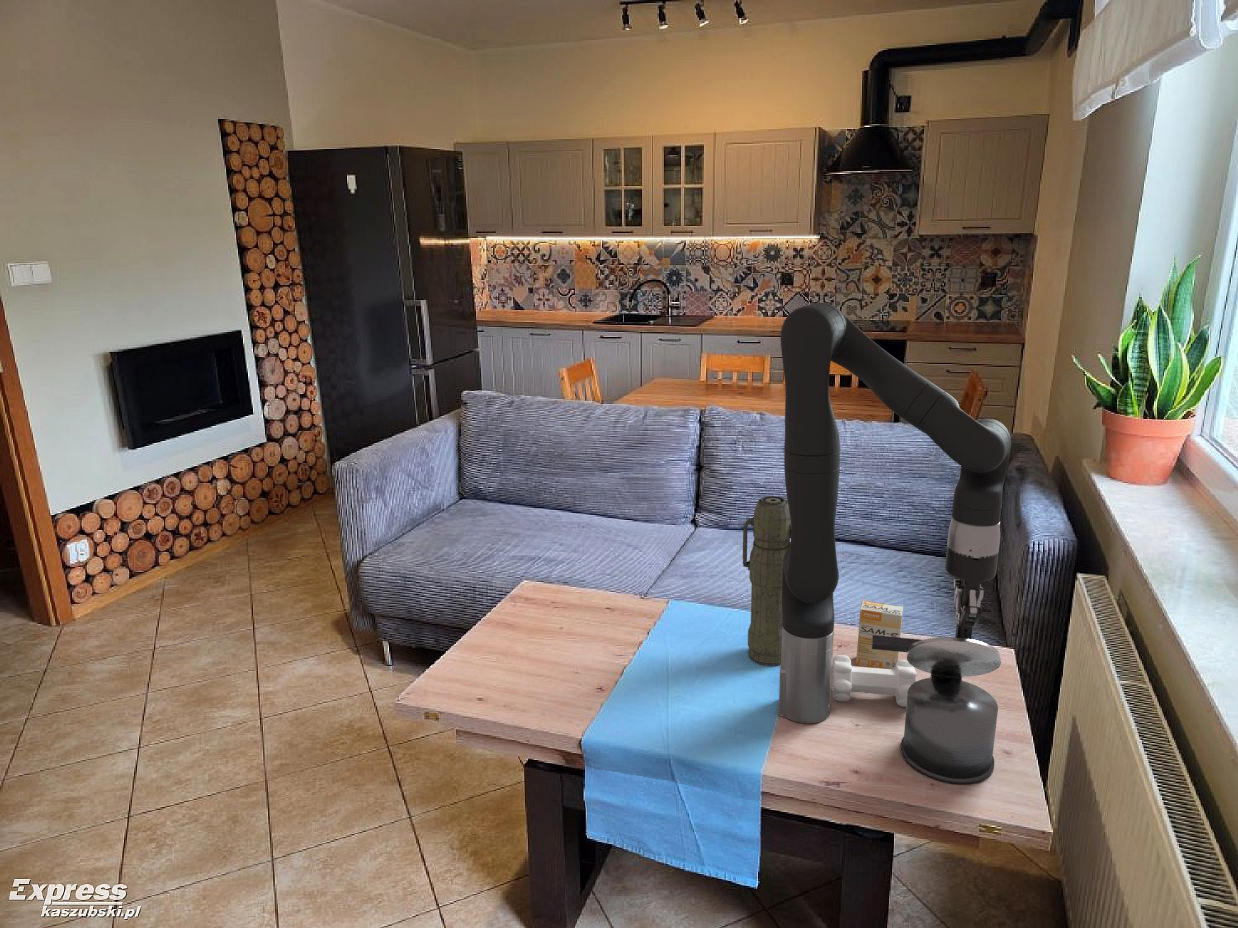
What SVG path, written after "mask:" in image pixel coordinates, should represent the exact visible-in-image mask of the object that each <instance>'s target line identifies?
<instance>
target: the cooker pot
mask: <svg viewBox="0 0 1238 928" xmlns="http://www.w3.org/2000/svg"><path fill="white" fill-rule="evenodd" d="M929 675H930V677H927V678H926V677H925V678H922V679H919V680H916V682H914V683H913V684H912V685H911V686H910V687H909V689H908V694H907V706H906V707H905V708H906V709H905V720H904V733H903V737H902V739H901V742H900V754H901V756H902V758H903V760H904V761H905V763H906V764H907V765H908V766H910V767H911V768H912V769H913V770H914V771H916V772H917V773H919V774H921V775H922V776H924V777H926V778H929V779H930V780H931V779H932V780H934V781H937V782H940V783H944V784H950V785H959V786H960V785H961V786H965V785H966V786H967V785H975V784H978V783H982V782H984V781H985V780H987V779H989V777H991V775H992V774H993V772H994V770H995V758H994V748H995V745H994V744H995V738H996V729H997V722H998V711H999V706H998V705H999V704H998V703H997V701H996V699H995V698H994V696H992V695H991V694H990V693H989V692H987V690H985V689H984V688H981V687H980V686H978V685H976V684H973V683H971V682H968V681H964V680H963V679H962V678H963V677H962V678H960V677H950V676H941V675H931V674H929Z"/></svg>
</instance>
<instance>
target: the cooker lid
mask: <svg viewBox="0 0 1238 928" xmlns="http://www.w3.org/2000/svg"><path fill="white" fill-rule="evenodd" d="M872 649H877V650H887V651H897V652H899V653H906V660H907V661H908V662H909V663H910V664H911V665H912V666H913V667H914V669H917V670H920V671H922V672H925V673H929V674H930V675H941V676H950V677H960V678H963V677H964V678H965V677H977V676H982V675H986V674H990V673H992V672H994V671H996V670H998V669H999V668H1000V667H1001V665H1002V658H1001V653H1000V651H999V650H998V648H996V647H994V646H992V645H991V644H988V643H986V642H983V641H980V640H976V639H972V638H971V639H966V638H955V636H954V637H950V636H947V637H946V636H944V637H943V636H942V637H932V638H931V637H930V638H926V639H925V638H924V639H918V638H910V637H909V638H908V637H901V638H899V637H888V636H878V635H873V636H872Z"/></svg>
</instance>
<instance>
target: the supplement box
mask: <svg viewBox="0 0 1238 928" xmlns="http://www.w3.org/2000/svg"><path fill="white" fill-rule="evenodd" d="M860 604H861V605H860V610H859V619H858V620H859V621H858V623H859V624H858V634H857V636H858V637H857V645H856V646H857V647H856V651H857V652H856V660H855V661H856V662H855V667H868V668H880V669H892V670H895V668H896V663H897V662H898V661H899V657H900V652H897V651H887V650H877V649H872V636H873V635H878V636H888V637H899V638H902V627H903V625H902V623H903V615H904V614H903V613H904V606H901V605H895V604H894V605H893V604H887V603H881V602H875V601H868V600H861V603H860Z"/></svg>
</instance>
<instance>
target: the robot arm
mask: <svg viewBox="0 0 1238 928" xmlns="http://www.w3.org/2000/svg"><path fill="white" fill-rule="evenodd" d="M780 350H781V360H782V367H783V377H784V390H785V396H784V397H785V398H784V399H785V401H784V402H785V403H784V404H785V405H784V442H783V443H784V447H783V449H784V451H783V453H784V458H783V460H784V465H783V466H784V468H783V469H784V481H785V483H784V484H785V491H786V493H785V494H786V500H787V501H788V507H789V513H790V520H791V538H790V542H791V543H790V547H789V548H788V549H787V551H786V553H785V555H784V559H783V570H782V645H781V665H780V666H779V667H780V668H779V681H778V683H779V686H778V716H779V717H785V718H787V719H789V720H790V721H792V722H795V723H800V724H817V723H821V722H823V721H825V720H826V719H827V718H828V717H829V716H830V709H831V693H832V692H831V691H832V676H833V673H832V668H833V652H834V651H833V649H834V633H835V631H834V630H835V610H834V609H835V606H834V592H835V591H836V589H837V587H838V583H839V579H840V574H839V567H838V558H837V546H836V533H835V531H836V530H835V529H836V528H835V527H836V517H837V516H836V515H837V507H838V496H839V486H840V485H839V484H840V466H841V441H840V440H841V439H840V432H839V427H838V425H837V421H836V420H837V419H836V417H835V414H834V410H833V406H832V403H831V398H830V397H831V396H830V372H831V363H833V364H836V365H838V366H840V367H842V368H843V369H845V370H847V371H848V372H850V373H851V374H853V375H855V377H856V378H858V379H859V380H860V381H861V382H863V384H865V386H866V387H867V388H869V390H870V391H871V392H872V393H873V394H874V395H875V396H876V397H877V398H878V399H879V401H880V402H882V403H883V404H884V405H885V406H886V407H887V408H888V409H889V410H890V411H892V412H893V413H894V414H895V415H897V416H898V417H900V418H901V419H902V420H904V421H905V422H907V423H908V424H910V425H911V426H912V427H914V428H915V429H917V430H919V432H922V433H924V434H926V435H927V437H929V438H930V439H931V440H932V442H933V443H934V444H935V445H936V446H938V447H939V448H940V449H941V450H942V452H944V453H945V455H946V456H948V457H949V458H950V459H952V461H954V462H955V463H956V464H958V465H959V466H960V470H959V471H960V472H959V479H958V481H957V484H956V486H955V489H954V493H953V501H952V508H951V518H950V523H949V527H948V533H947V543H946V555H945V566H944V567H945V570H946V572H947V573H948V574H949V575H950V576H952V577H954V578H953V588H954V597H953V603H954V611H955V615H954V617H955V620H956V627H955V628H956V629H955V636H954V637H955V638H966V639H972V638H973V637H972V636H973V628H977V627H978V624H979V623H980V619H981V616H982V615H983V611H984V609H983V607H982V606H981V602H982V600H983V599H984V592H985V589H984V587H982V582H986V581H990V580H992V579H994V578H995V577H996V575H997V569H998V559H999V551H1000V550H999V549H1000V543H1001V515H1002V507H1003V494H1004V493H1003V491H1004V490H1003V489H1004V484H1005V483H1004V482H1005V480H1006V476H1007V470H1008V466H1009V460H1010V456H1011V455H1010V454H1011V450H1012V449H1011V448H1012V447H1011V446H1012V440H1011V435H1010V431H1009V430H1008V428H1007V427H1006V426H1005V425H1004V424H1003V423H1002V422H1000V421H998V420H996V419H993V418H982V419H978V420H976V419H974V418H973V417H972V416H971V415H969V414H968V413H966V412H965V411H964V410H963V409H961V408H960V404H959V402H958V400H956V398H955V397H953V396H952V395H951V394H949V393H948V392H946V391H945V390H943V388H940V387H939V386H937V385H936V384H935V383H933V382H931V381H930V380H928V378H926V377H924V376H923V375H921V374H919V373H918V372H916V371H915V370H913V369H912V368H911V367H909V366H907V365H905V363H903V362H901V361H900V360H898V359H897V358H896V357H894V356H893V355H892V354H891V353H889V352H888V351H886V350H885V349H884V348H882V346H880V345H879V344H877V343H876V342H875V341H874V340H873V339H871V338H870V337H869V336H868V335H867V334H866V333H864V331H862V330H861V329H860V328H859V327H858V326H857V325H856V324H855V323H854V322H853V321H852V320H851V319H850V318H849V317H847V315H846V314H844V313H843V312H842V311H841V310H839V309H838V308H837V307H836V306H835V305H833V304H830V303H828V302H815V303H811V304H810V303H809V304H806V305H803V306H800V307H797V308H795V309H794V310H792V311H791V312H790V313H789V314H788V315H787V316H786V318H784V320H783V323H782V325H781V330H780Z"/></svg>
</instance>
